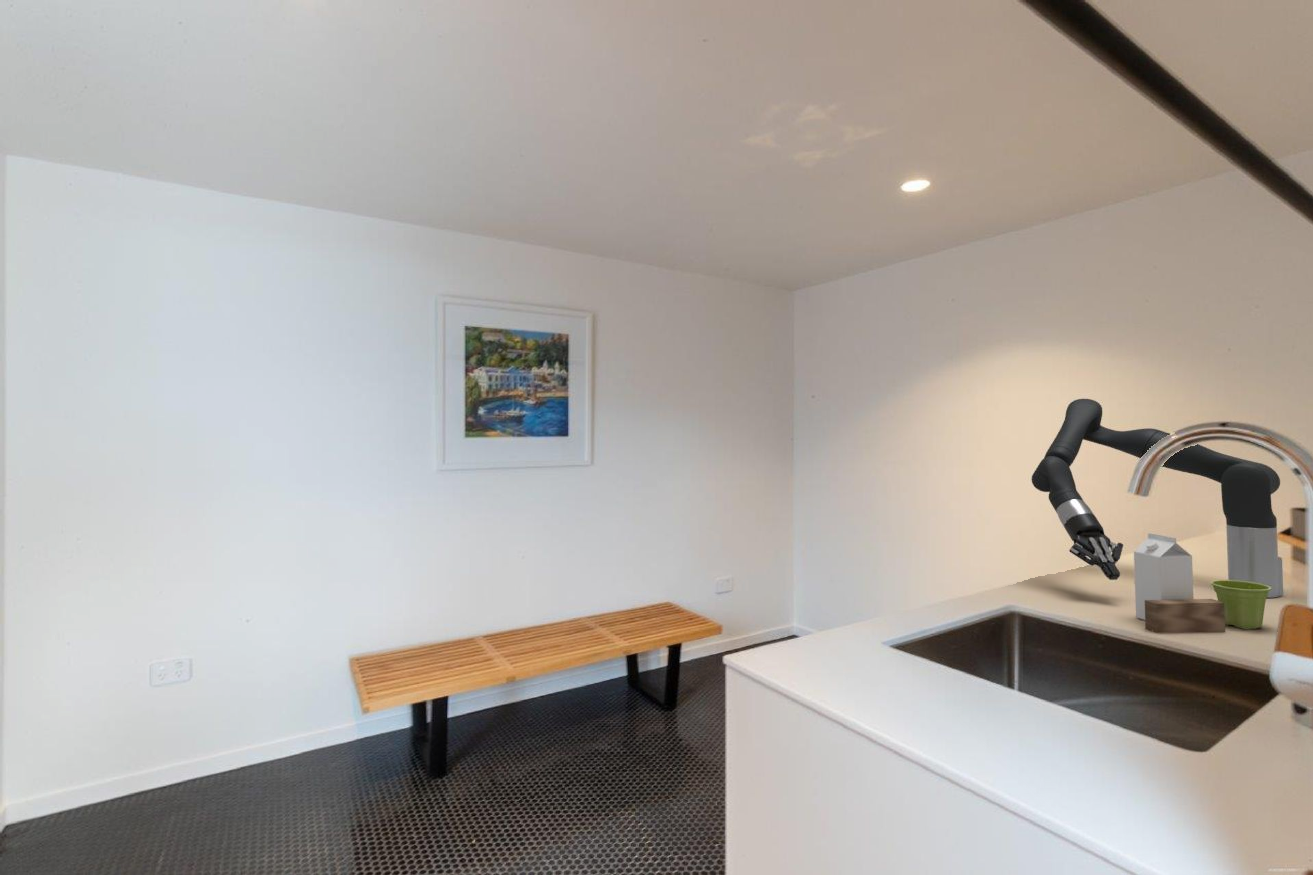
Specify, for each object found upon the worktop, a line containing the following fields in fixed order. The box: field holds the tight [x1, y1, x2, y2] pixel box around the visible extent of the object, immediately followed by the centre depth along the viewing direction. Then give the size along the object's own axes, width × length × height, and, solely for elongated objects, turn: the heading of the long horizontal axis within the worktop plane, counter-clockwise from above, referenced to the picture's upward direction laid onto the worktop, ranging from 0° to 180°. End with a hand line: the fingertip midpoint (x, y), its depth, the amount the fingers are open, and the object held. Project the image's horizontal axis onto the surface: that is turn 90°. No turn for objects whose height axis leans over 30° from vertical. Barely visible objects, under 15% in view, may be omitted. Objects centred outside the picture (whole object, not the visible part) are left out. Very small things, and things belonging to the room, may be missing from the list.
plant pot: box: [1210, 579, 1271, 630], centre depth 130 cm, size 9×9×9 cm
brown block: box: [1144, 598, 1226, 633], centre depth 128 cm, size 14×3×6 cm, turn 89°
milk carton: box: [1133, 532, 1194, 621], centre depth 134 cm, size 7×7×19 cm
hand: (1114, 577), depth 148 cm, fingers closed
